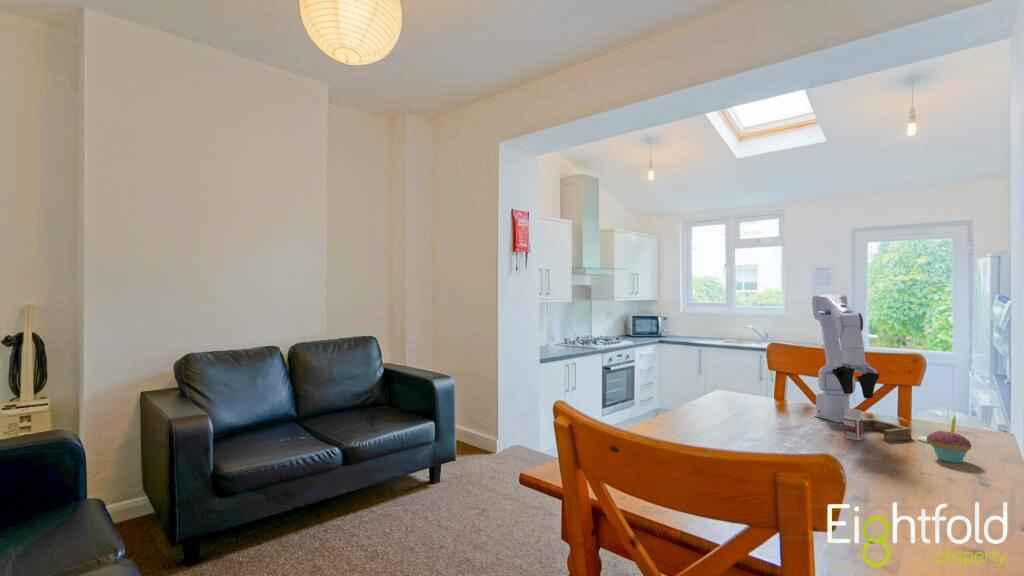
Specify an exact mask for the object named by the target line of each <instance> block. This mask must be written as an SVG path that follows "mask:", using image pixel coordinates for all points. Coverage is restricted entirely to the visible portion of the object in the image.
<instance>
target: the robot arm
mask: <svg viewBox="0 0 1024 576" xmlns="http://www.w3.org/2000/svg"><path fill="white" fill-rule="evenodd" d="M811 302H812V306H811V307H812V312H813V313H812V314H813V317H814V319H815V320H817V321H819V323H820V327H821V332H822V338H823V339H822V340H823V346H824V355H825V362H826V363H825V365H824V366H822V367H820V369H819V370H818V373H817V374H818V379H817V380H818V381H817V382H818V388H819V390H820V391H819V392H818V393H817V394H816V395H815V396H816V397H815V414H814V416H815V417H818V418H821V419H825V420H828V421H831V422H835V423H839V424H840V423H844V416H845V415H846V414H845V409H851V408H850V406H851V405H850V403H851V402H850V396H851V395H852V394H853V393H854V392H855V391H856V387H857V386H856V379H857V380H858V382H859V385H860V387H861V392H862V395H863V398H864V399H873V398H874V392H875V387H876V384H877V382H878V380H879V378H880V375H879V373H878V372H877V368H873V367H871V366H870V363H868V362H866V355H865V347H864V340H863V333H862V332H863V330H864V317H863V315H862V313H861V312H856V313H855V312H854V311H853V309H852V308H851V307H850V306H849V305H848V297H847V295H846V294H845V293H840V294H838V293H836V294H835V293H834V294H833V293H832V294H823V293H822V294H817V293H815V294H814V295H812V300H811ZM855 372H856V373H859V374H861V375H857V376H856V379H855V377H854V373H855Z"/></svg>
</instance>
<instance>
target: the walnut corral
mask: <svg viewBox="0 0 1024 576" xmlns="http://www.w3.org/2000/svg"><path fill="white" fill-rule="evenodd" d="M872 430H875V431H878V432H880V433H881V432H882V433H883V441H885V442H889V443H890V442H895V441H904V440H911V439H912V428H911V427H907V426H903V425H900V424H894V423H892V422H887V421H883V420H879V419H876V418H867V419H863V432H864V431H872Z"/></svg>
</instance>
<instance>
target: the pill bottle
mask: <svg viewBox="0 0 1024 576" xmlns="http://www.w3.org/2000/svg"><path fill="white" fill-rule="evenodd" d="M845 414H846V415H845V416H844V422H843V436H844V437H845V438H846V439H848V440H853V441H861V440H863V439H864V431H863V420H864V418H863V417H862V410H861V409H857V408H850V409H845Z"/></svg>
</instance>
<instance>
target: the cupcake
mask: <svg viewBox="0 0 1024 576" xmlns="http://www.w3.org/2000/svg"><path fill="white" fill-rule="evenodd" d="M956 421H957V418H956V415H954V417H952V420H951V426H950V431H947V430H946V431H943V430H942V431H941V430H939V431H935V432H931V433H929V434H928V435H927V436H926V437H927V442H928V443H927V444H929V445H931V447H932V448H933V450H934V452H935V455H936V457H937V458H938V460H940V461H944V462H948V463H954V464H955V463H957V464H959V463H962V462H963V460H964V458H965V456H966V455H967V453H968V452H969V450H970V451H971V450H972V444H971V442H970V440H968V439H967V438H966V437H965V436H963V435H961V434H959V433H956V432H955V428H956Z"/></svg>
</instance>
